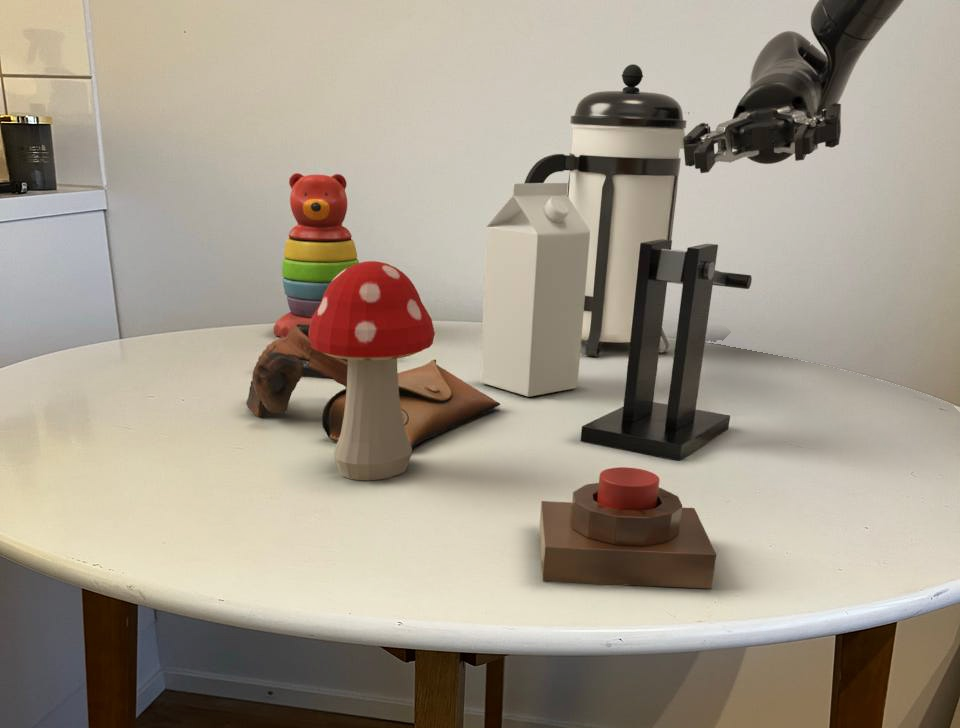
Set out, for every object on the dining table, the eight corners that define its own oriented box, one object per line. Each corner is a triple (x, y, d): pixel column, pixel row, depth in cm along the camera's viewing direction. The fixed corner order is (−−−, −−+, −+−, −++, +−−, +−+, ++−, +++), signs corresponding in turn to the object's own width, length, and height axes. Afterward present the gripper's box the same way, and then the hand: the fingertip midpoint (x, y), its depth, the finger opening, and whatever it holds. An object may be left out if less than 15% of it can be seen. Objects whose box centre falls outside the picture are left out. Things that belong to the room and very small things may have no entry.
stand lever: (694, 290, 95) (699, 262, 94) (748, 296, 93) (754, 268, 92) (638, 277, 83) (643, 246, 83) (698, 284, 81) (704, 253, 80)
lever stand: (636, 412, 96) (656, 233, 89) (728, 429, 92) (756, 243, 85) (580, 441, 87) (597, 243, 80) (679, 460, 83) (706, 255, 76)
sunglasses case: (410, 449, 81) (372, 371, 79) (346, 480, 85) (310, 405, 83) (505, 403, 95) (475, 336, 94) (447, 431, 99) (418, 367, 98)
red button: (652, 495, 64) (655, 468, 63) (660, 515, 60) (663, 487, 60) (594, 492, 64) (597, 465, 63) (599, 512, 60) (602, 484, 60)
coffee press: (564, 329, 133) (584, 66, 119) (683, 343, 127) (718, 69, 113) (510, 351, 119) (524, 57, 105) (640, 368, 113) (674, 59, 99)
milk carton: (479, 384, 104) (487, 180, 95) (528, 375, 108) (540, 180, 99) (528, 398, 99) (541, 186, 90) (577, 389, 104) (594, 185, 95)
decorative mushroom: (381, 497, 72) (380, 275, 65) (287, 474, 76) (276, 261, 69) (455, 463, 80) (461, 261, 73) (366, 443, 84) (363, 250, 77)
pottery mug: (263, 398, 97) (305, 322, 95) (343, 453, 96) (387, 377, 94) (203, 393, 86) (248, 306, 83) (293, 456, 85) (341, 370, 83)
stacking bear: (270, 337, 121) (261, 173, 113) (287, 322, 130) (280, 169, 122) (360, 341, 121) (358, 177, 112) (371, 326, 130) (370, 173, 121)
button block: (690, 539, 67) (698, 481, 65) (711, 589, 60) (721, 525, 58) (539, 532, 67) (543, 474, 65) (542, 581, 60) (547, 517, 58)
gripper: (703, 84, 104) (668, 122, 93) (850, 60, 99) (832, 96, 87) (709, 162, 109) (676, 207, 97) (850, 143, 103) (833, 188, 91)
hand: (750, 155), depth 92 cm, fingers open, 8 cm apart
